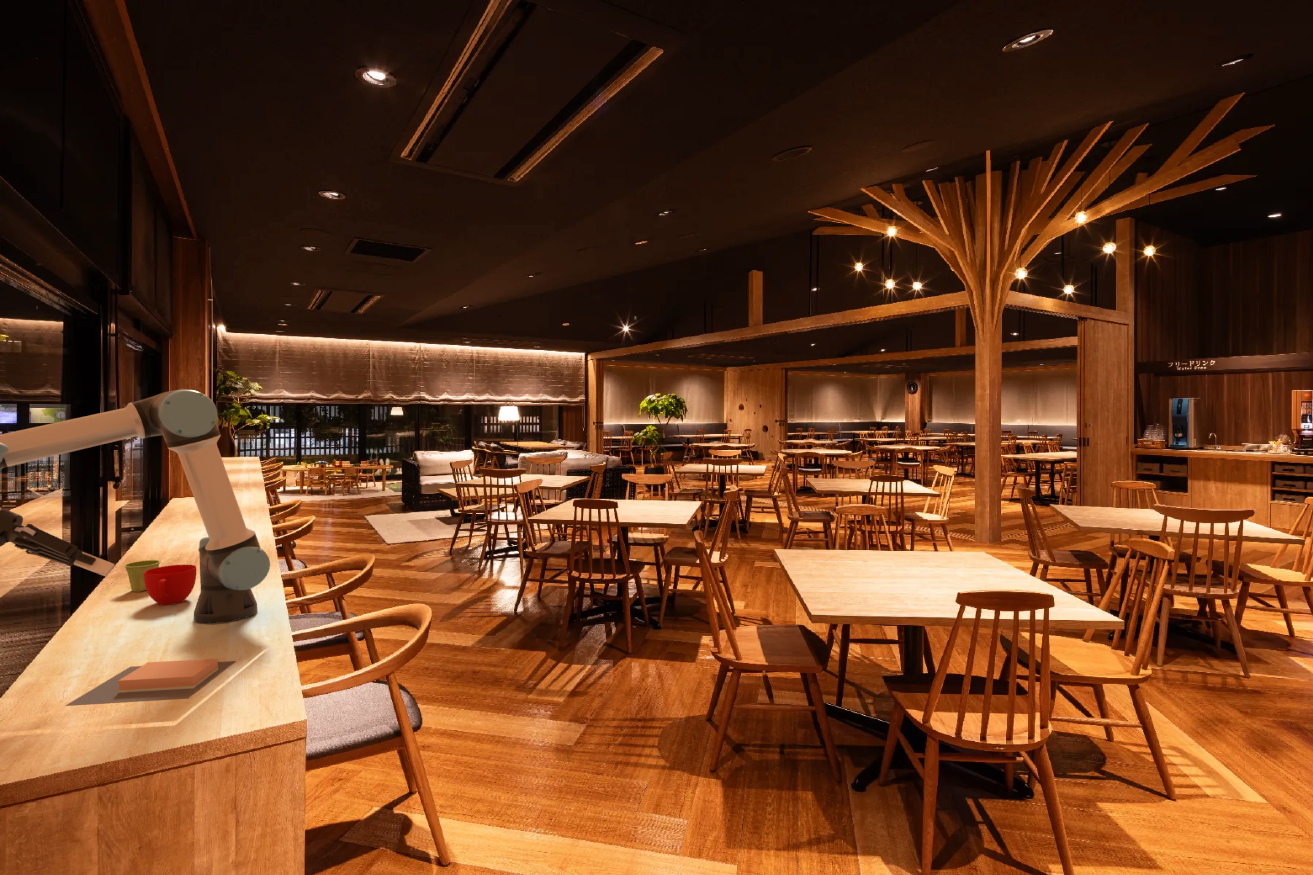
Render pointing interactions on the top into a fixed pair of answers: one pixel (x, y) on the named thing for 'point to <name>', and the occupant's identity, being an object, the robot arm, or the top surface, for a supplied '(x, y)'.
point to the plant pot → (139, 573)
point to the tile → (168, 675)
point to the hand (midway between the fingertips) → (110, 570)
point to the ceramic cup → (170, 583)
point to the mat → (110, 691)
